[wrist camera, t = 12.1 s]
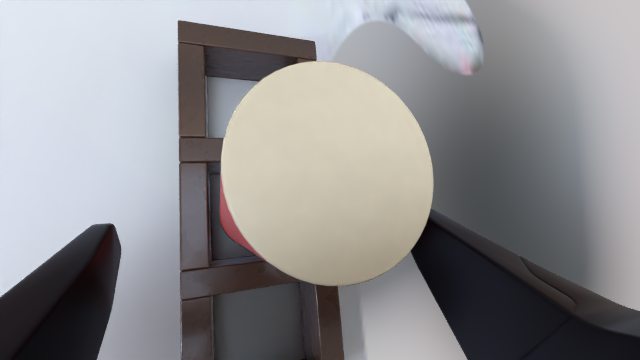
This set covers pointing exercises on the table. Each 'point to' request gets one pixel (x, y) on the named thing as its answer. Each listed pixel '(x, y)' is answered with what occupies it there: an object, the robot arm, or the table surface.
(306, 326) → the brown wooden rack
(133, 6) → the table surface
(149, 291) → the table surface
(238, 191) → the red cylinder
